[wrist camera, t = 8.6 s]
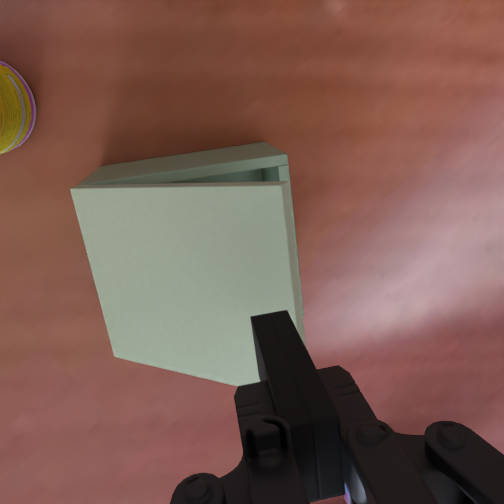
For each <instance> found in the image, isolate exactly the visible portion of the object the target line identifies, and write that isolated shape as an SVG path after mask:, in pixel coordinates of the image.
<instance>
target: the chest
mask: <svg viewBox="0 0 504 504" xmlns="http://www.w3.org/2000/svg"><path fill="white" fill-rule="evenodd" d="M267 181H288V182H289V189H290V199H291V209H292V218H293V228H294V238H295V247H296V257H297V267H298V276H299V286H300V296H301V306H302V315H303V316H304V311H303V301H302V291H301V281H300V272H299V262H298V252H297V242H296V232H295V223H294V213H293V203H292V193H291V183H290V174H289V165H288V155H287V153H285V152H283V151H281V150H279V149H278V148H276V147H274V146H272V145H270V144H268V143H267V142H259V143H253V144H246V145H239V146H232V147H226V148H219V149H212V150H205V151H199V152H192V153H185V154H178V155H172V156H165V157H158V158H151V159H145V160H138V161H131V162H124V163H117V164H111V165H104V166H100V167H99V168H98V169H97V170H95V171H94V172H93V173H92V174H90V175H89V176H88V177H87V178H86V179H84V180H83V181H82V182H81V183H80V184H78V185H77V186H79V185H118V184H167V183H217V182H267Z"/></svg>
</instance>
